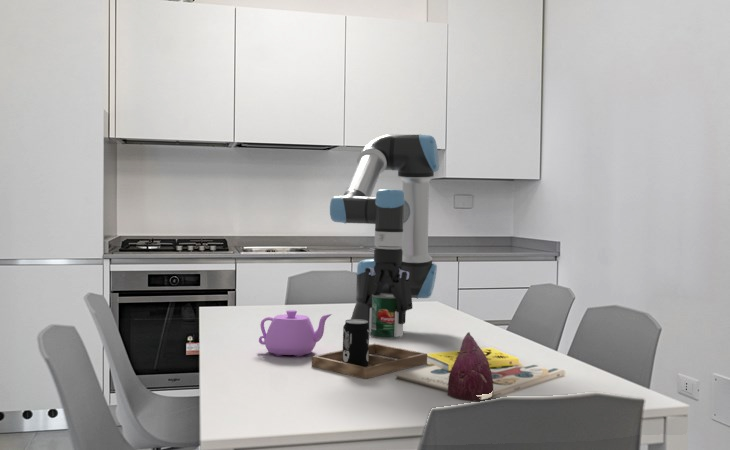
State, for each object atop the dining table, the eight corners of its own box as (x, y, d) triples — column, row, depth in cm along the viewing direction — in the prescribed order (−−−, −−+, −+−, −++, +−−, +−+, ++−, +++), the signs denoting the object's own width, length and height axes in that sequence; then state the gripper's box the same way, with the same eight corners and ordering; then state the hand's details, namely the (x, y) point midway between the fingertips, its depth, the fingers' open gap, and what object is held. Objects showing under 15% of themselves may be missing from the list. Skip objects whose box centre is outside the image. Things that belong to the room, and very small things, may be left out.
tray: (311, 366, 181) (311, 356, 181) (374, 352, 200) (374, 343, 200) (365, 378, 170) (365, 368, 170) (426, 363, 189) (427, 353, 189)
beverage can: (365, 372, 177) (366, 323, 176) (339, 370, 178) (340, 322, 177) (370, 366, 183) (371, 319, 183) (345, 364, 184) (346, 318, 184)
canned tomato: (385, 332, 195) (386, 292, 194) (406, 337, 189) (408, 295, 189) (364, 335, 189) (365, 294, 189) (386, 340, 184) (387, 297, 183)
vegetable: (445, 403, 163) (436, 337, 166) (489, 397, 163) (479, 331, 167) (453, 404, 152) (443, 334, 155) (500, 398, 153) (489, 328, 156)
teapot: (253, 357, 190) (254, 312, 190) (263, 346, 203) (264, 305, 203) (328, 360, 189) (329, 315, 188) (333, 349, 202) (334, 308, 202)
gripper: (349, 245, 192) (347, 330, 193) (411, 250, 179) (408, 341, 180) (367, 245, 198) (365, 327, 199) (428, 250, 185) (425, 337, 185)
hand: (385, 333), depth 189 cm, fingers closed on canned tomato, 8 cm apart
